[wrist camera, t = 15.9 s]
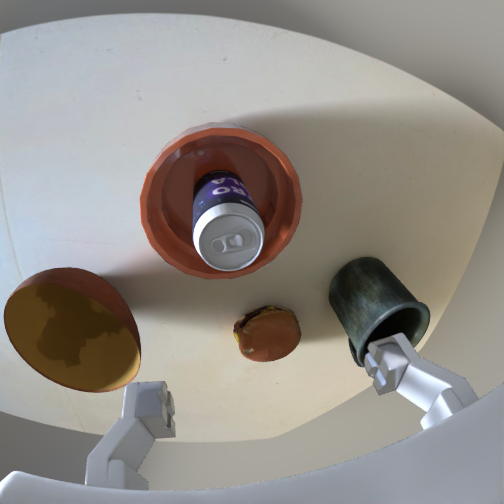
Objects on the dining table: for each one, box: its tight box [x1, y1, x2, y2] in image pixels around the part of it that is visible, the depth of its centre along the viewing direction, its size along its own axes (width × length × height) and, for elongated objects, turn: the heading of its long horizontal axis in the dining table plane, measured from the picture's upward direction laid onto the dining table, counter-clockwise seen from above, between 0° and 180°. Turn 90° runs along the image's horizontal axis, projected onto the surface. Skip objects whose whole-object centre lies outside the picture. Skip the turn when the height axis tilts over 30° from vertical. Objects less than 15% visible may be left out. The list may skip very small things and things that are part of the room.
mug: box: [329, 257, 430, 367], centre depth 39 cm, size 11×15×12 cm
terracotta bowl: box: [140, 122, 302, 279], centre depth 31 cm, size 15×15×6 cm
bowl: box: [4, 267, 141, 393], centre depth 32 cm, size 18×18×10 cm
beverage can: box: [192, 170, 265, 271], centre depth 28 cm, size 6×6×12 cm
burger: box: [233, 306, 301, 362], centre depth 42 cm, size 10×9×5 cm
